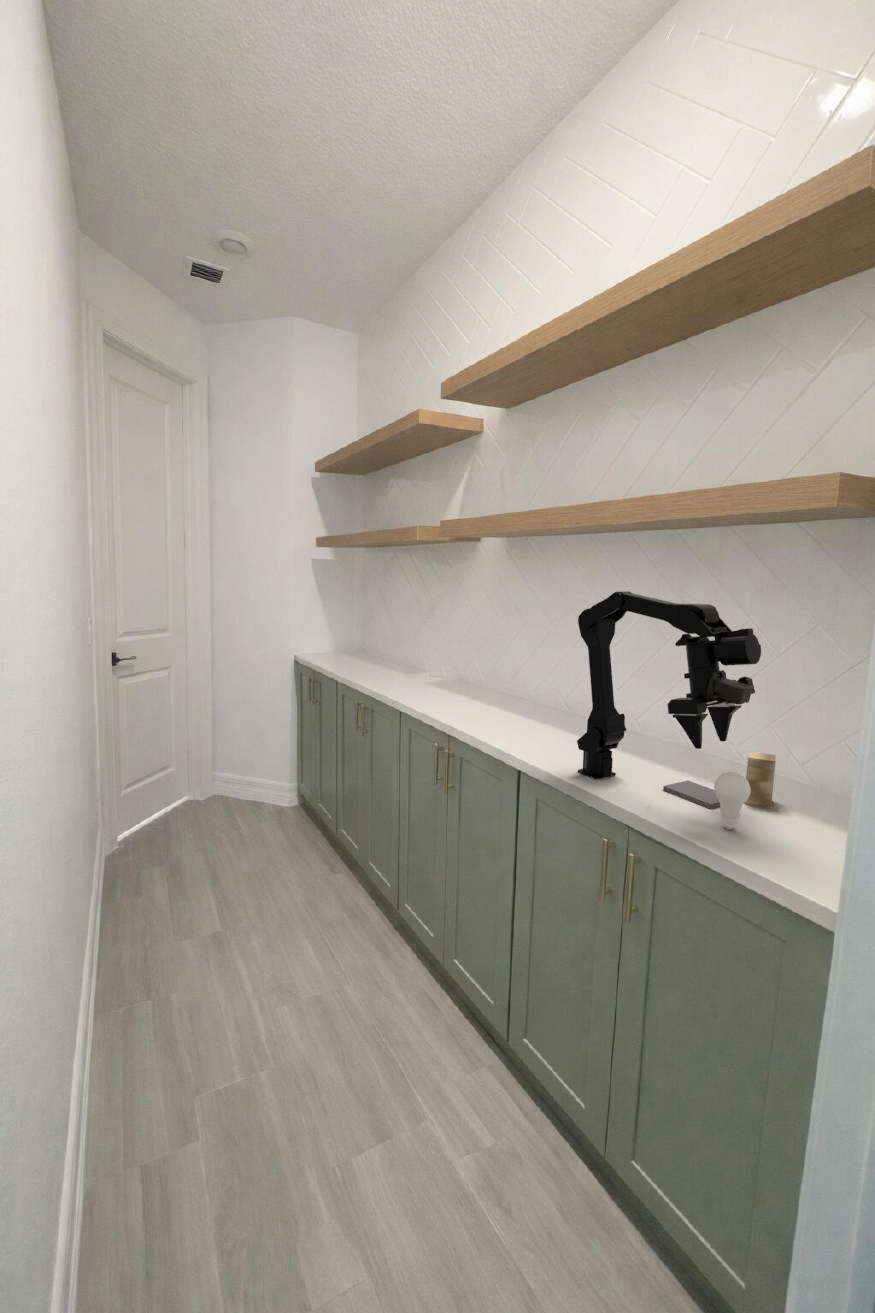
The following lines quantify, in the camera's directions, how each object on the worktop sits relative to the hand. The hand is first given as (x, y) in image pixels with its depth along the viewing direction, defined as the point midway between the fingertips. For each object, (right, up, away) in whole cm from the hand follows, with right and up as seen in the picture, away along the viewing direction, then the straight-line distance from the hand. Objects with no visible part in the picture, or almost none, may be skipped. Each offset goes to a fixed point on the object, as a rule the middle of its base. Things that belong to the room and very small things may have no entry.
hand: (711, 744), depth 119 cm
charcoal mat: (+2, -13, +10) cm, 16 cm away
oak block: (+13, -13, +7) cm, 20 cm away
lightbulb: (0, -15, -6) cm, 16 cm away
